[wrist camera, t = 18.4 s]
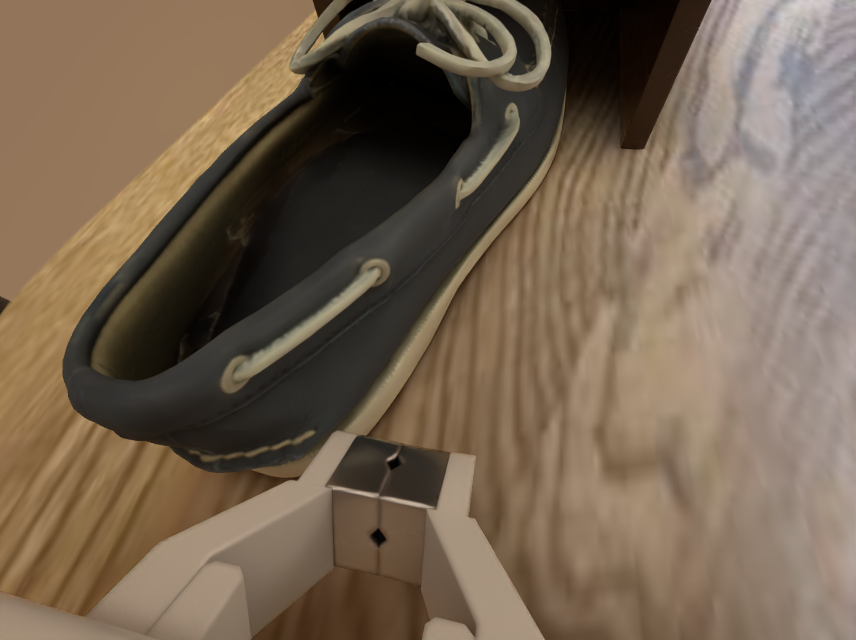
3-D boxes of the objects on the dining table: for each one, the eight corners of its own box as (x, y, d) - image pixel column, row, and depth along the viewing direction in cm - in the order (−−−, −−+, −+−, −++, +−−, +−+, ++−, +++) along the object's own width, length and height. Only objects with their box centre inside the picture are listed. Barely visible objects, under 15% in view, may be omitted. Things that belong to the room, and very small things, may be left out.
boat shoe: (461, 22, 24) (455, -184, 17) (623, 60, 21) (697, -172, 14) (136, 387, 16) (-140, 281, 9) (326, 534, 13) (140, 553, 6)
